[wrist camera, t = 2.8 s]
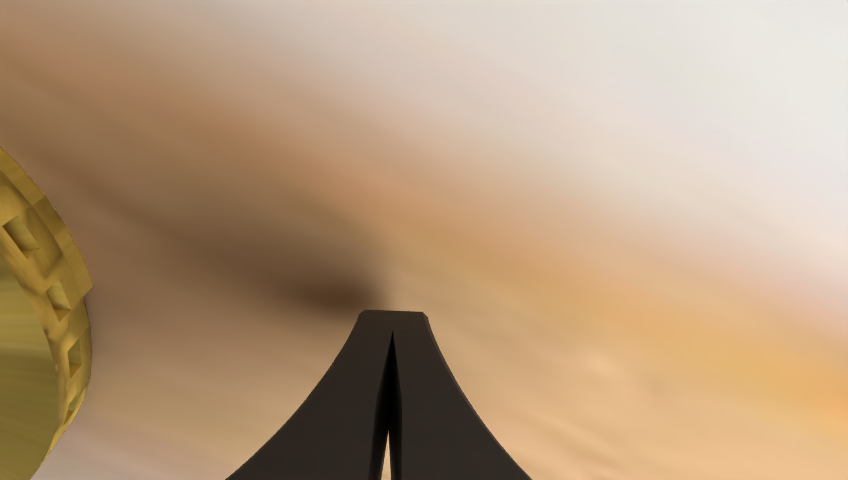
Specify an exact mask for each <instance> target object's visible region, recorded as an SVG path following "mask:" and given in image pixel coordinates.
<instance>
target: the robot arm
mask: <svg viewBox="0 0 848 480" xmlns="http://www.w3.org/2000/svg"><path fill="white" fill-rule="evenodd" d="M388 430H389V448H390V467H391V480H532V479H531V478H530V477H529V476H528V475H527V474H526V473H525V472H524V471H523V470H522V469H521V468H520V467H519V466H518V465H517V463H516V462H515V461H514V460H513V459H512V458H511V457H510V455H509V454H508V453H507V452H506V451H505V449H504V448H503V447H502V446H501V445H500V444H499V442H498V441H497V440H496V438H495V437H494V436H493V435H492V433H491V432H490V431H489V429H488V428H487V427H486V426H485V424H484V423H483V421H482V420H481V419H480V417H479V416H478V414H477V413H476V411H475V410H474V409H473V407H472V405H471V404H470V402H469V401H468V399H467V398H466V396H465V395H464V393H463V392H462V390H461V388H460V386H459V385H458V383H457V381H456V380H455V378H454V376H453V374H452V372H451V371H450V369H449V367H448V365H447V363H446V361H445V359H444V357H443V355H442V353H441V351H440V349H439V347H438V345H437V342H436V340H435V338H434V335H433V333H432V330H431V327H430V324H429V321H428V317H427V316H426V315H425V314H424V313H423V312H410V311H384V310H364V311H363V312H361V313H360V314H359V316H358V319H357V322H356V324H355V326H354V328H353V330H352V332H351V334H350V336H349V337H348V339H347V341H346V343H345V344H344V346H343V348H342V349H341V351H340V353H339V354H338V356H337V357H336V359H335V360H334V362H333V363H332V365H331V366H330V368H329V369H328V371H327V372H326V374H325V375H324V376H323V378H322V379H321V380H320V382H319V383H318V384H317V386H316V387H315V388H314V390H313V391H312V392H311V393H310V395H309V396H308V397H307V399H306V400H305V401H304V402H303V404H302V405H301V406H300V407H299V408H298V409H297V411H296V412H295V413H294V414H293V415H292V416H291V418H290V419H289V420H288V421H287V422H286V423H285V424H284V425H283V426H282V427H281V428H280V429H279V430H278V432H277V433H276V434H275V435H274V436H273V437H272V438H271V439H270V440H269V441H268V442H266V443H265V444H264V445H263V446H262V447H261V448H260V449H259V450H258V451H257V452H256V453H255V454H254V455H253V456H252V457H251V458H250V459H249V460H248V461H247V462H245V463H244V464H243V465H242V466H241V467H240V468H239V469H238V470H236V471H235V472H234V473H233V474H232V475H230V476H229V477H228V478H227V479H225V480H381V477H382V470H383V463H384V457H385V450H386V443H387V437H388Z"/></svg>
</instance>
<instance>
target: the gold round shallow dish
mask: <svg viewBox="0 0 848 480" xmlns="http://www.w3.org/2000/svg"><path fill="white" fill-rule="evenodd" d="M92 287H93V283H92V280H91V278H90V275H89V273H88V270H87V267H86V265H85V262H84V260H83V257H82V255H81V253H80V251H79V250H78V248H77V246H76V244H75V242H74V240H73V238H72V236H71V235H70V233H69V231H68V229H67V227H66V226H65V224H64V223H63V221H62V220H61V218H60V217H59V215H58V214H57V212H56V211H55V210H54V208H53V207H52V205H51V204H50V202H49V201H48V199H47V198H46V196H45V195H44V194H43V193H42V192H41V190H40V189H39V188H38V187H37V186H36V185H35V183H34V182H33V181H32V180H31V179H30V177H29V176H28V175H27V174H26V173H25V172H24V170H23V169H22V168H21V167H20V166H19V165H18V164H17V163H16V162H15V161H14V160H13V159H12V158H11V157H10V156H9V155H8V154H7V153H6V152H5V151H4V150H3V149H2V148H1V147H0V480H30V479H31V477H32V476H33V475H34V473H35V472H36V471H37V469H38V468H39V467H40V465H41V464H42V463H43V461H44V460H45V458H46V457H47V456H48V454H49V453H50V451H51V450H52V448H53V447H54V446H55V444H56V443H57V441H58V440H59V439H60V437H61V436H62V434H63V433H64V432H65V430H66V429H67V427H68V426H69V425H70V423H71V422H72V420H73V419H74V418H75V416H76V414H77V412H78V410H79V408H80V405H81V403H82V401H83V399H84V397H85V393H86V390H87V386H88V382H89V379H90V374H91V361H92V343H91V332H90V324H89V320H88V316H87V312H86V308H85V304H84V300H83V297H84V295H85V294H86V293H87V292H88V291H89V290H90V289H91V288H92Z"/></svg>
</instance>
